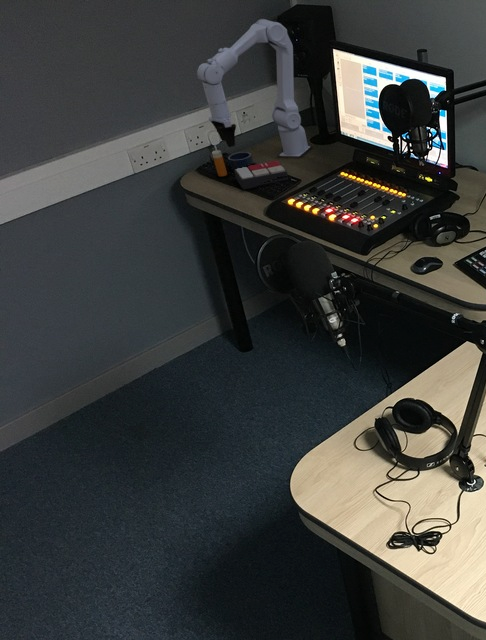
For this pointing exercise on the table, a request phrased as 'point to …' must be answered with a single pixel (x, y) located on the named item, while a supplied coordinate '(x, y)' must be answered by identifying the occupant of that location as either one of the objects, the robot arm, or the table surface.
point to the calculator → (259, 174)
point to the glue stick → (219, 163)
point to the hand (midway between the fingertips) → (228, 143)
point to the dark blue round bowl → (240, 159)
